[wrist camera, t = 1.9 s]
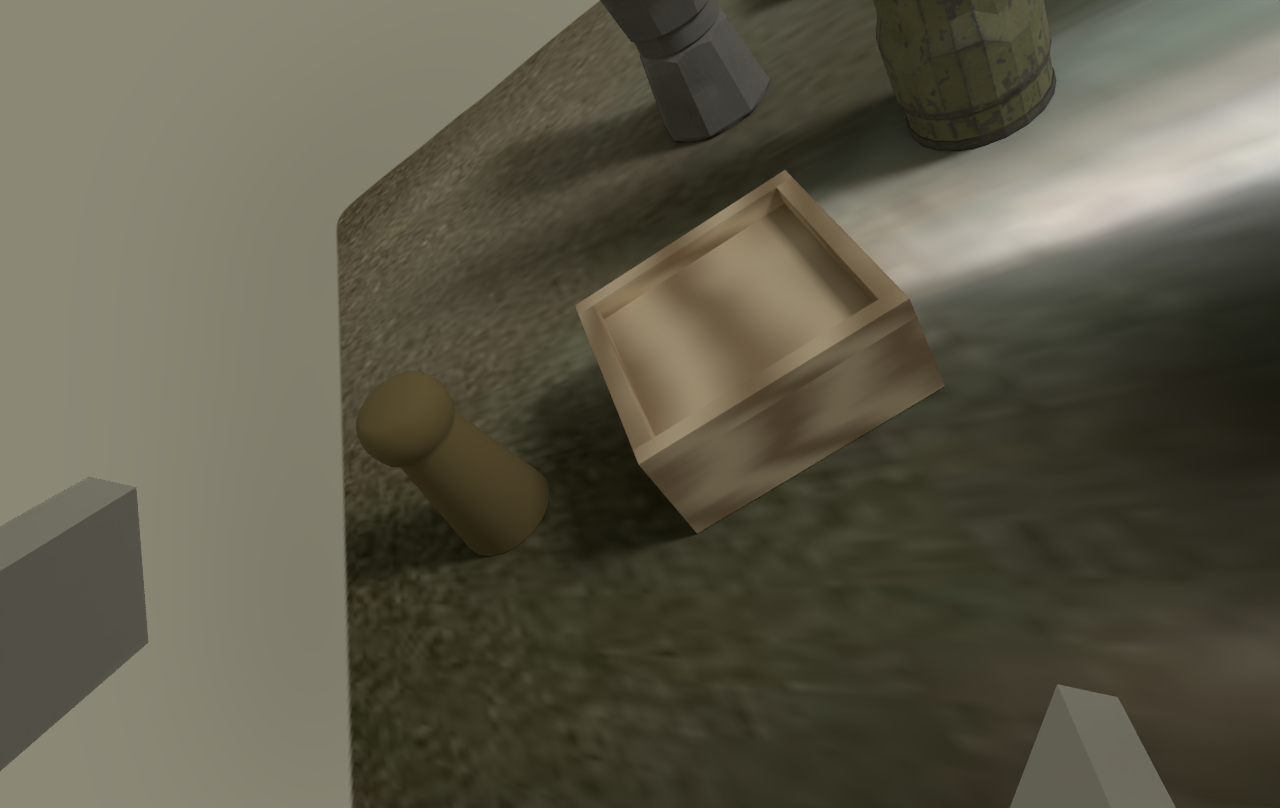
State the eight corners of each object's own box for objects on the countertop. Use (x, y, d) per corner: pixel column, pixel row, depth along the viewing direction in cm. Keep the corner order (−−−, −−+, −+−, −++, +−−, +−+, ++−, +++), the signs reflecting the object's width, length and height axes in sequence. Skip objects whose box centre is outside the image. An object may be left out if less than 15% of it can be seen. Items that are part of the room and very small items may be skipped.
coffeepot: (813, 76, 66) (712, -170, 54) (725, 159, 65) (602, -75, 53) (695, 56, 77) (591, -150, 66) (618, 126, 76) (499, -72, 65)
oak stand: (822, 249, 53) (784, 169, 49) (944, 386, 42) (909, 298, 38) (627, 373, 55) (575, 305, 51) (697, 533, 44) (638, 464, 40)
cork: (460, 570, 51) (327, 464, 44) (467, 489, 55) (347, 381, 48) (549, 534, 49) (425, 418, 42) (549, 454, 53) (437, 336, 46)
